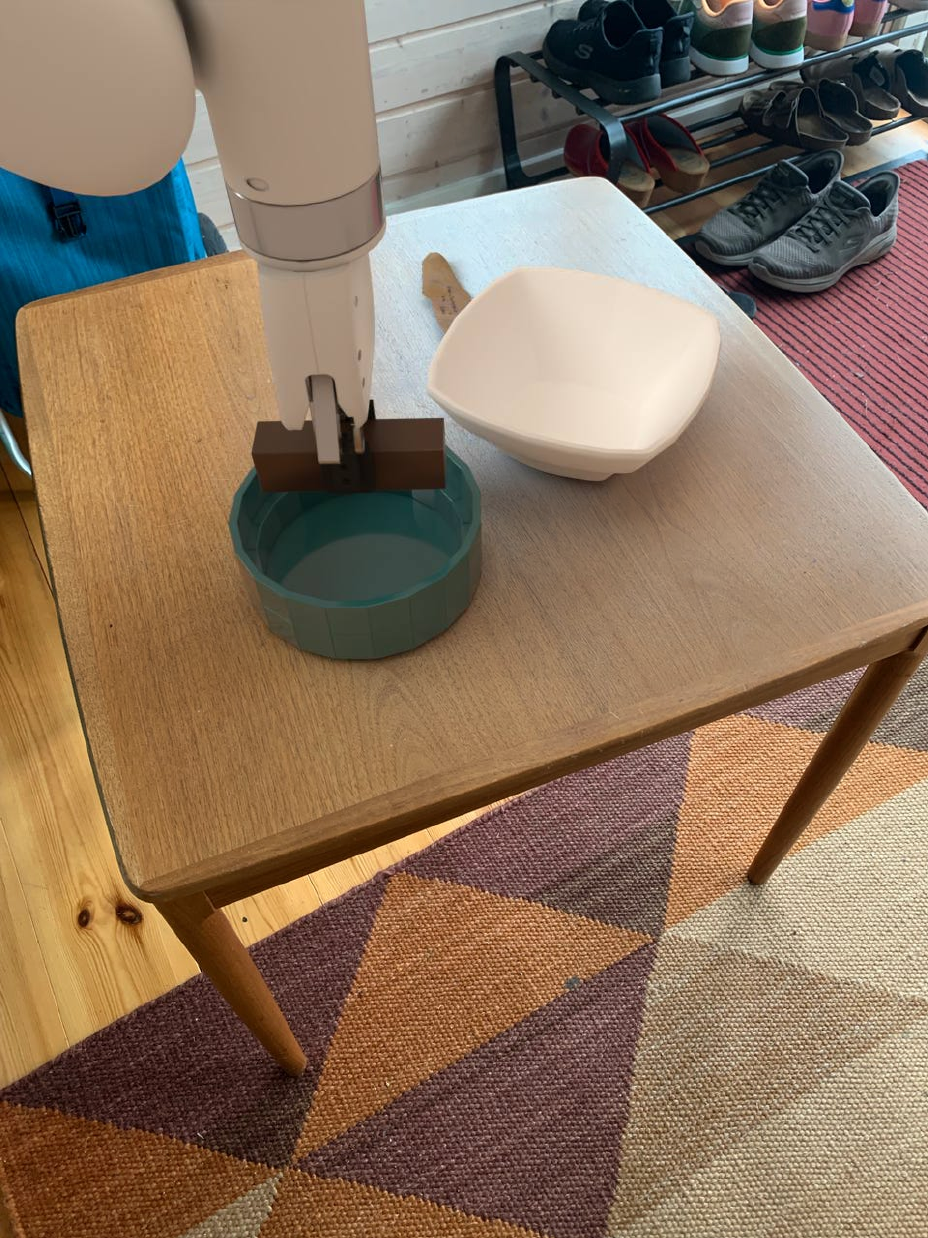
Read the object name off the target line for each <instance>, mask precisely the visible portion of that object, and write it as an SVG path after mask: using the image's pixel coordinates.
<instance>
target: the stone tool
mask: <svg viewBox="0 0 928 1238" xmlns="http://www.w3.org/2000/svg"><path fill="white" fill-rule="evenodd" d="M421 266H422V267H421V272H422V273H421V278H422V284H421V285H422V286H421V289H422V290H421V294H422V295H423V296H424V297H426V298H427V299H429V301H430V302H431V306H432V309H433V312H434V314H435V319H436V321H437V323H438V326H439V327H440V329H441V330H442V332H443V333H444V335H445V334H446V332H447V331H448V329H449V327H450V326H451V324H452V323H453V321H454V319H455V318H456V317H457V316H458V315H459V314H460V313H461V311H462V310H463V309H464V308H465V307H466V306H467V305H468V304H469V303H470V302H471V300H472V298H471V297H472V296H471V294H469V292H467V291H466V289H464V287H463V286H462V284H461V283H460V281H459V280H458V278H457V276H456V275H455V274H456V273H455V272H454V271H453V268H452V267H451V265H450V263H449V262H448V260H447V259H446V258H445V257H444V255H442V254H441V253H439V252H437V251H434V252H429V253H428V254H427V255H426V256H425V258H423V260H422V262H421Z"/></svg>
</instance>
